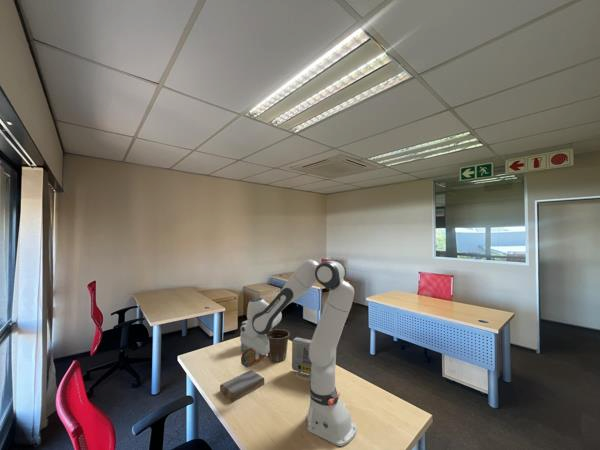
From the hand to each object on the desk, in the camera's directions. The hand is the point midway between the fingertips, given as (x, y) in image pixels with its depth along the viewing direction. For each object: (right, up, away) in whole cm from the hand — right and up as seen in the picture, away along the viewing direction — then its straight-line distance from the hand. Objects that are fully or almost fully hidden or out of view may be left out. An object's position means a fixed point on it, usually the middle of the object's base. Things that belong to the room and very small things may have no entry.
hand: (254, 357), depth 127 cm
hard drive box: (-11, -22, +53) cm, 59 cm away
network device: (+31, -21, +18) cm, 42 cm away
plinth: (-7, -20, +6) cm, 22 cm away
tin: (0, -3, 0) cm, 3 cm away
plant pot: (+8, -22, +39) cm, 46 cm away
